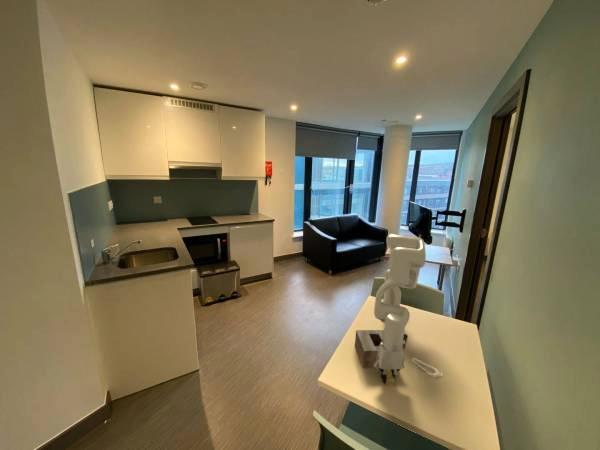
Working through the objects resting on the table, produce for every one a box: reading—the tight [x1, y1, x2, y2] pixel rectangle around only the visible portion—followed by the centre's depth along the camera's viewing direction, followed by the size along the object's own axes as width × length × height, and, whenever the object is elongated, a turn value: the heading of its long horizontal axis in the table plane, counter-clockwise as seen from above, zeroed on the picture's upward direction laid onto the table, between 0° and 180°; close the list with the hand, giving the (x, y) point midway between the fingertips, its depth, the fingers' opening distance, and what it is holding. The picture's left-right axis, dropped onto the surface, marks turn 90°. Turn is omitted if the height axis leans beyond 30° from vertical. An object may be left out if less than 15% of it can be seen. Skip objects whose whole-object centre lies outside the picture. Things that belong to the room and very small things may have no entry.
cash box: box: [354, 329, 384, 369], centre depth 115 cm, size 16×14×9 cm
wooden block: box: [384, 369, 396, 386], centre depth 102 cm, size 3×6×4 cm, turn 2°
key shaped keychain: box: [411, 357, 443, 378], centre depth 109 cm, size 13×5×2 cm, turn 46°
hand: (387, 379), depth 102 cm, fingers closed on wooden block, 2 cm apart
